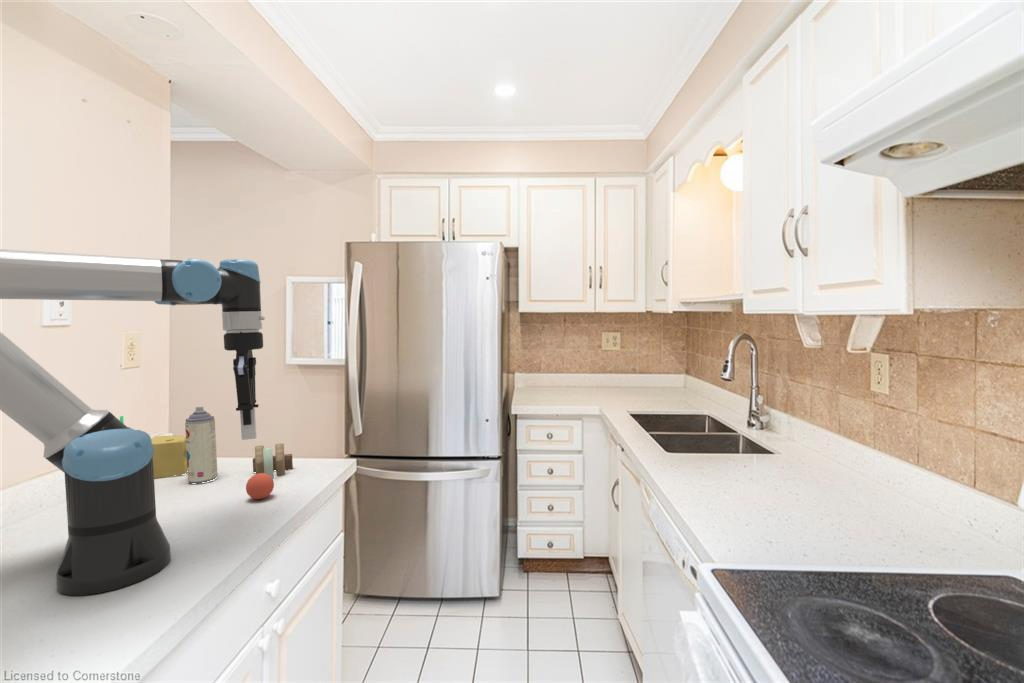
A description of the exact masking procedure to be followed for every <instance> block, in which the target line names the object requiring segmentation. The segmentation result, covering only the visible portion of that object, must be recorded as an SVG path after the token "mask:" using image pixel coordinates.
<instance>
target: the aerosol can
mask: <svg viewBox="0 0 1024 683" xmlns="http://www.w3.org/2000/svg"><path fill="white" fill-rule="evenodd" d="M215 420H216V419H215V416H214V415H211V414H210V413H209V412H207V411H206V410H204V406H195V410H194V412H193V413H192V414H189V417H188V418H186V419H185V422H184V423H185V424H184V426H185V427H184V429H185V430H184V431H185V437H186V450H187V469H188V472H187V482H189V483H202V482H207V481H210V480H213V479H215V478H216V477H217V476H218V460H217V459H218V457H217V440H216V439H217V435H216V421H215ZM218 477H219V476H218ZM189 483H188V484H189Z"/></svg>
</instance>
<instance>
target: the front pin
mask: <svg viewBox="0 0 1024 683" xmlns="http://www.w3.org/2000/svg"><path fill="white" fill-rule="evenodd" d="M273 456H274V455H273V447H264V449H263V458H264V473H265V474H268V475H269V476H271V478H272V479H275V478H274V476H275V475H274V471H273Z"/></svg>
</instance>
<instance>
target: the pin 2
mask: <svg viewBox="0 0 1024 683" xmlns="http://www.w3.org/2000/svg"><path fill="white" fill-rule="evenodd" d="M274 451H275V453H274V456H276V471H275V472H276V475H277V476H276V477H283V476H286V470H285V459H284V455H285V443H276V444H275V445H274Z"/></svg>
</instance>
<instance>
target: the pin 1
mask: <svg viewBox="0 0 1024 683" xmlns="http://www.w3.org/2000/svg"><path fill="white" fill-rule="evenodd" d="M264 448H265V445H263V444H262V445H256V446H254V456H255V457H254V458H255V462H256V473H255V474H259V473H264V458H263V449H264Z"/></svg>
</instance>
